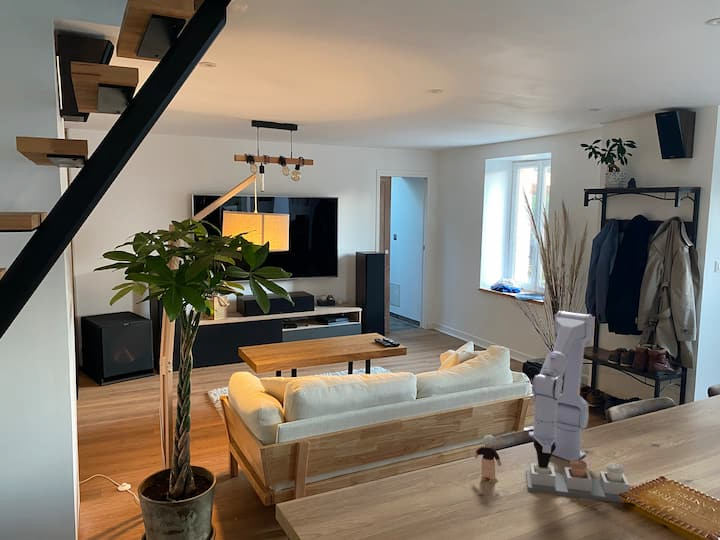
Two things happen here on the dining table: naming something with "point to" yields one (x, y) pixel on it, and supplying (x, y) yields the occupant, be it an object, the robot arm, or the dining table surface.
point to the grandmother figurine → (488, 459)
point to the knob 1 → (542, 469)
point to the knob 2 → (614, 472)
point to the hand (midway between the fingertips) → (542, 466)
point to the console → (576, 484)
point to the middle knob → (578, 468)
